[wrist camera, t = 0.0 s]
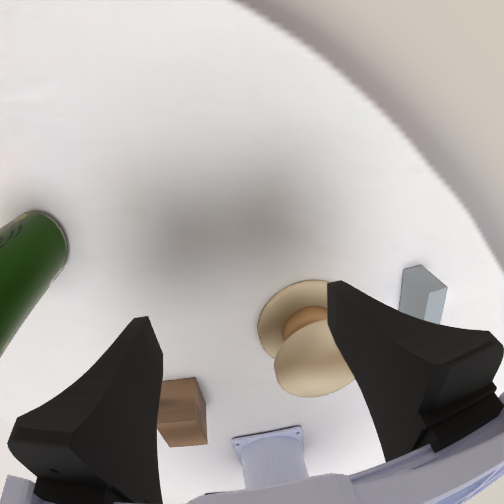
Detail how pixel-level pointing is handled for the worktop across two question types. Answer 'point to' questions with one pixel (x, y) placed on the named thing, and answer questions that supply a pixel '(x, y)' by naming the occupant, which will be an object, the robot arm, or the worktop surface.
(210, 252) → the worktop surface
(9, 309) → the beer can
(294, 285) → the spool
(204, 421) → the block
